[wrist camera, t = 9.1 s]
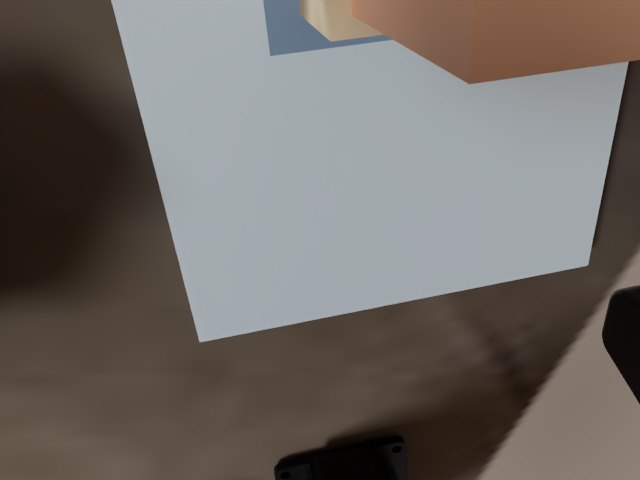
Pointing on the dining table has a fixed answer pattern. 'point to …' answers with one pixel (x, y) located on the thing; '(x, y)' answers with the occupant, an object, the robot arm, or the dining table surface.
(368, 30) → the birch base block
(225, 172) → the blueprint board
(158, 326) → the dining table surface
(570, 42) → the terracotta block
